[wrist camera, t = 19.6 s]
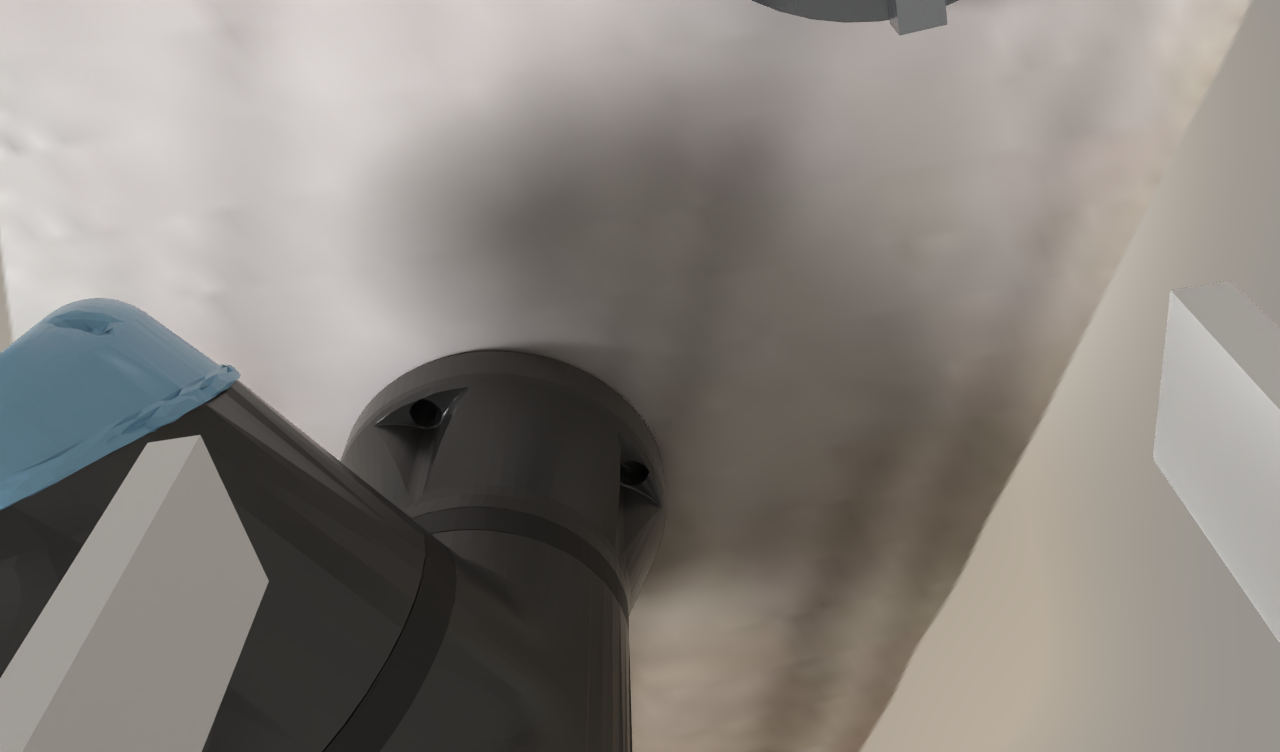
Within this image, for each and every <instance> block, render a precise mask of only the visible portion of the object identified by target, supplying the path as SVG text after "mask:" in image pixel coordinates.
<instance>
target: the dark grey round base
mask: <svg viewBox="0 0 1280 752" xmlns="http://www.w3.org/2000/svg"><path fill="white" fill-rule="evenodd" d="M752 1H755V2H757V3H760V4H762V5H765V6H767V7H770V8H772V9H775V10H777V11H780V12H784V13H789V14H793V15H797V16H801V17H805V18H809V19H816V20H826V21H836V22H872V21H884V20H890V24H891V25H892V27H893V28H894V29H895V30H896V32H897V33H898V34H899V35H903V34H908V33H912V32H916V31H921V30H925V29H929V28H934V27H938V26H942V25H947V16H946V6H947V5H949V4H951V3H953V2H956V1H958V0H752Z"/></svg>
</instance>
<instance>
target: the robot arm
mask: <svg viewBox="0 0 1280 752" xmlns="http://www.w3.org/2000/svg"><path fill="white" fill-rule="evenodd" d="M240 375H241V374H240V373H239V372H238V371H237V370H236V369H235V368H233V367H232V366H231V365H218V364H217V363H215V362H214V361H213V360H211V359H210V358H208V357H207V356H206V355H204V354H203V353H201V352H200V351H198V350H197V349H196V348H194V347H193V346H191V345H190V344H189V343H187V342H186V341H184V340H183V339H182V338H180V337H179V336H177V335H176V334H174V333H173V332H172V331H170V330H169V329H167V328H166V327H165V326H163V325H162V324H160V323H159V322H158V321H156V320H155V319H154V318H152V317H151V316H149V315H148V314H147V313H145V312H144V311H142V310H140V309H138V308H137V307H135V306H133V305H130V304H128V303H125V302H122V301H118V300H113V299H104V298H94V299H85V300H80V301H76V302H73V303H70V304H67V305H65V306H62V307H60V308H59V309H57V310H56V311H54V312H53V313H51V314H49V315H48V316H47V317H45V318H44V319H43V320H41V321H40V322H39V323H38V324H36V325H35V326H34V327H33V328H31V329H30V330H29V331H27V332H26V333H25V334H24V335H22V336H21V337H20V338H19V339H17V340H16V341H15V342H14V343H12V344H11V345H10V346H9V347H7V348H6V349H5V350H3V351H2V352H1V353H0V752H632V726H631V690H630V655H629V615H630V612H631V610H632V608H633V606H634V604H635V601H636V599H637V597H638V595H639V592H640V590H641V588H642V586H643V584H644V581H645V579H646V577H647V575H648V573H649V570H650V568H651V566H652V564H653V562H654V559H655V557H656V555H657V553H658V550H659V547H660V544H661V540H662V536H663V532H664V526H665V519H666V499H665V480H664V470H663V464H662V460H661V456H660V453H659V450H658V447H657V445H656V443H655V440H654V438H653V436H652V434H651V433H650V431H649V429H648V427H647V426H646V424H645V423H644V421H643V420H642V419H641V417H640V416H639V415H638V413H637V412H636V411H635V410H634V409H633V408H632V407H631V406H630V405H629V403H628V402H627V401H625V400H624V399H623V398H622V397H621V396H620V395H619V394H618V393H616V392H615V391H614V390H613V389H611V388H610V387H609V386H607V385H606V384H604V383H603V382H601V381H600V380H598V379H596V378H595V377H593V376H591V375H589V374H587V373H585V372H583V371H581V370H579V369H577V368H575V367H572V366H570V365H568V364H565V363H562V362H559V361H556V360H553V359H549V358H545V357H542V356H537V355H532V354H525V353H518V352H506V351H485V352H473V353H465V354H459V355H454V356H450V357H446V358H442V359H439V360H436V361H433V362H430V363H427V364H425V365H422V366H420V367H417V368H415V369H413V370H412V371H410V372H408V373H406V374H404V375H402V376H401V377H399V378H398V379H396V380H395V381H393V382H392V383H390V384H389V385H388V386H387V387H385V388H384V389H383V390H382V391H381V392H379V393H378V394H377V395H376V396H375V397H374V398H373V399H372V400H371V402H370V403H369V404H368V405H367V406H366V408H365V409H364V410H363V412H362V413H361V415H360V416H359V418H358V420H357V421H356V423H355V425H354V427H353V429H352V431H351V434H350V436H349V439H348V442H347V444H346V447H345V450H344V453H343V456H342V458H341V461H339V460H337V459H336V458H335V457H334V456H332V455H331V454H330V453H329V452H327V451H326V450H325V449H324V448H322V447H321V446H320V445H319V444H317V443H316V442H315V441H314V440H312V439H311V438H310V437H309V436H307V435H306V434H305V433H304V432H302V431H301V430H300V429H299V428H297V427H296V426H295V425H294V424H292V423H291V422H290V421H289V420H287V419H286V418H285V417H284V416H282V415H281V414H280V413H279V412H277V411H276V410H275V409H274V408H272V407H271V406H270V405H269V404H267V403H266V402H265V401H263V400H262V399H261V398H260V397H258V396H257V395H256V394H255V393H253V392H252V391H251V390H250V389H248V388H247V387H246V386H245V385H243V384H242V383H241V382H240V381H238V380H237V379H238V378H239V377H240ZM1153 460H1154V462H1155V463H1156V464H1157V466H1158V467H1159V469H1160V470H1161V472H1162V473H1163V475H1164V476H1165V478H1166V479H1167V481H1168V482H1169V483H1170V485H1171V486H1172V488H1173V489H1174V491H1175V492H1176V494H1177V495H1178V496H1179V498H1180V499H1181V501H1182V502H1183V504H1184V505H1185V506H1186V508H1187V509H1188V511H1189V512H1190V514H1191V515H1192V517H1193V518H1194V519H1195V521H1196V523H1197V524H1198V525H1199V527H1200V528H1201V530H1202V531H1203V533H1204V534H1205V536H1206V537H1207V539H1208V540H1209V541H1210V543H1211V544H1212V546H1213V547H1214V549H1215V550H1216V552H1217V553H1218V555H1219V556H1220V557H1221V559H1222V560H1223V562H1224V563H1225V565H1226V566H1227V567H1228V569H1229V571H1230V572H1231V573H1232V575H1233V576H1234V578H1235V579H1236V581H1237V582H1238V583H1239V585H1240V586H1241V588H1242V589H1243V591H1244V592H1245V594H1246V595H1247V597H1248V598H1249V600H1250V601H1251V602H1252V604H1253V605H1254V607H1255V608H1256V610H1257V611H1258V613H1259V614H1260V615H1261V617H1262V618H1263V620H1264V621H1265V623H1266V624H1267V625H1268V627H1269V629H1270V630H1271V631H1272V633H1273V634H1274V636H1275V637H1276V639H1277V640H1278V642H1279V643H1280V328H1279V327H1278V326H1277V325H1276V324H1275V323H1274V322H1273V321H1272V320H1271V319H1270V318H1269V317H1268V316H1267V315H1266V314H1265V313H1264V312H1263V311H1262V310H1261V309H1260V308H1259V307H1258V306H1257V305H1256V304H1254V303H1253V302H1252V301H1251V300H1250V299H1249V298H1248V297H1247V296H1246V295H1245V294H1244V293H1243V292H1242V291H1241V290H1240V289H1239V288H1238V287H1237V286H1236V285H1235V284H1234V283H1233V282H1232V281H1226V282H1220V283H1213V284H1207V285H1200V286H1193V287H1186V288H1179V289H1173V290H1170V298H1169V307H1168V317H1167V327H1166V336H1165V345H1164V355H1163V365H1162V374H1161V383H1160V393H1159V402H1158V412H1157V422H1156V431H1155V441H1154V451H1153Z"/></svg>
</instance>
